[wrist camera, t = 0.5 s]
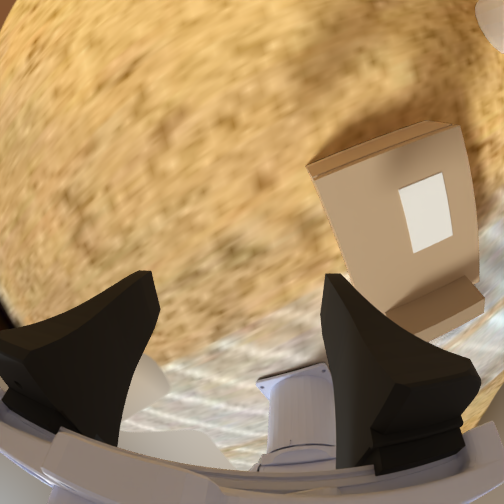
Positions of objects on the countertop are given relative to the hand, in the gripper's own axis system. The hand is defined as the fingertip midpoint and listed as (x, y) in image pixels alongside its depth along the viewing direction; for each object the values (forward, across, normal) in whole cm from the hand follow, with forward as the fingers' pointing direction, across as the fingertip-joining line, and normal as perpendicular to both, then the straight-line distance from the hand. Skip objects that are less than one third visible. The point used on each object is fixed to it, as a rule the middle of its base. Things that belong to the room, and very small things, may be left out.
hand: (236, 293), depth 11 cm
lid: (+6, -11, 0) cm, 12 cm away
